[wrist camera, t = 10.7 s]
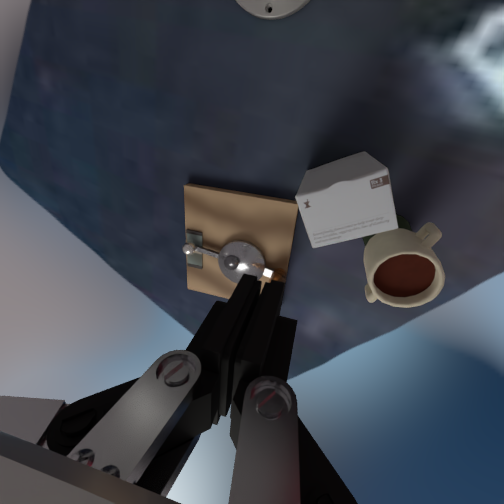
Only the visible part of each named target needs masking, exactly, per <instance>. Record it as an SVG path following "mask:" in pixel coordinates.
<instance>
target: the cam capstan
mask: <svg viewBox="0 0 504 504" xmlns="http://www.w3.org/2000/svg"><path fill="white" fill-rule="evenodd" d="M195 251H198V252H201V253H204V254H207V255H209V256H212V257H215V258H218V264H219V267H220V270H221V271H222V273H223V274H224V275H225V277H227V278H228V279H229V280H231V281H232V282H234V283H237V284H238V282H239V281H240V279H241V277H242V275H243V274H244V273H245V274H249V275H254V276H257V278H258V279H257V280H259V279H260V278H261V277H262V275H264V276H267V277H270V280H269V282H268V283H270V282H271V280H276V281H280V282H285V280H286V276H287V274H286V272H285V271H284V270H283V269H280V268H277V269H272V268H270V267H267V266H266V260H265V257H264V255H263V253H262V251H261V250H260V249H259V248H258V247H257V246H256V245H254V244H253V243H251V242H249V241H245V240H234V241H231V242H229V243H227V244H226V245H225V246H224V247H223V248H222V250H221V251H220V253H219V252H216V251H213V250H210V249H207V248H204V247H202V246H199V245H196V244H194V243H192V242H187V243H185V244H184V245H183V252H184V253H185V254H187V255H192V254H194V253H195Z"/></svg>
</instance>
